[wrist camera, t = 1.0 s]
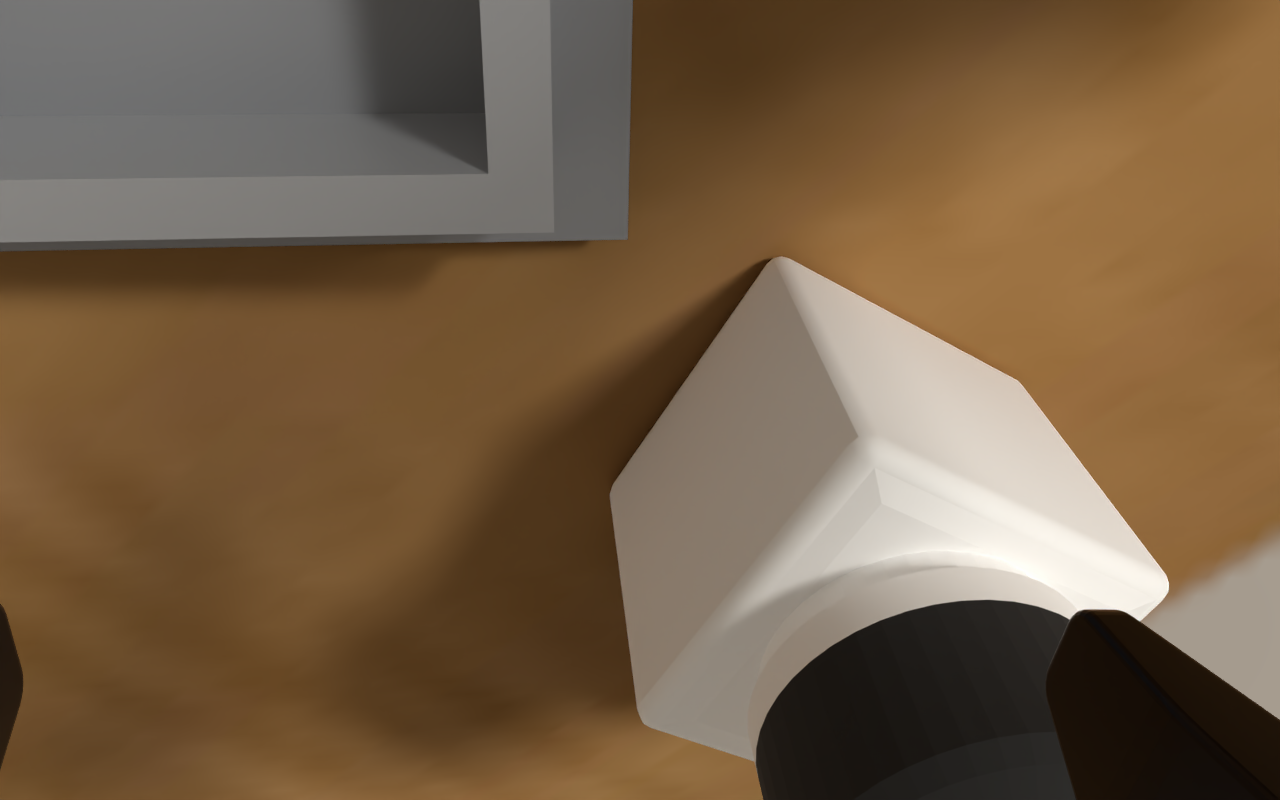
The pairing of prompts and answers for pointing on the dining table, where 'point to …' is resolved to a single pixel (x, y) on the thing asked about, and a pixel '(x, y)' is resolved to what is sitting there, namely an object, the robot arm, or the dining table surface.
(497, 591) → the dining table surface
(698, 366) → the medicine bottle
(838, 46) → the dining table surface
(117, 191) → the bottle caddy
